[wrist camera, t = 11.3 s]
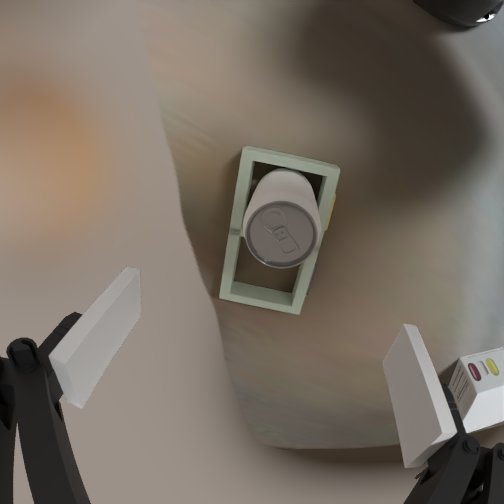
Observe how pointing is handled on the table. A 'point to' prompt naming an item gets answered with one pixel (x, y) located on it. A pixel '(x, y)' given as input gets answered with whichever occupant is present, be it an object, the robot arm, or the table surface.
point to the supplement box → (479, 389)
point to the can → (282, 220)
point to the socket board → (228, 285)
